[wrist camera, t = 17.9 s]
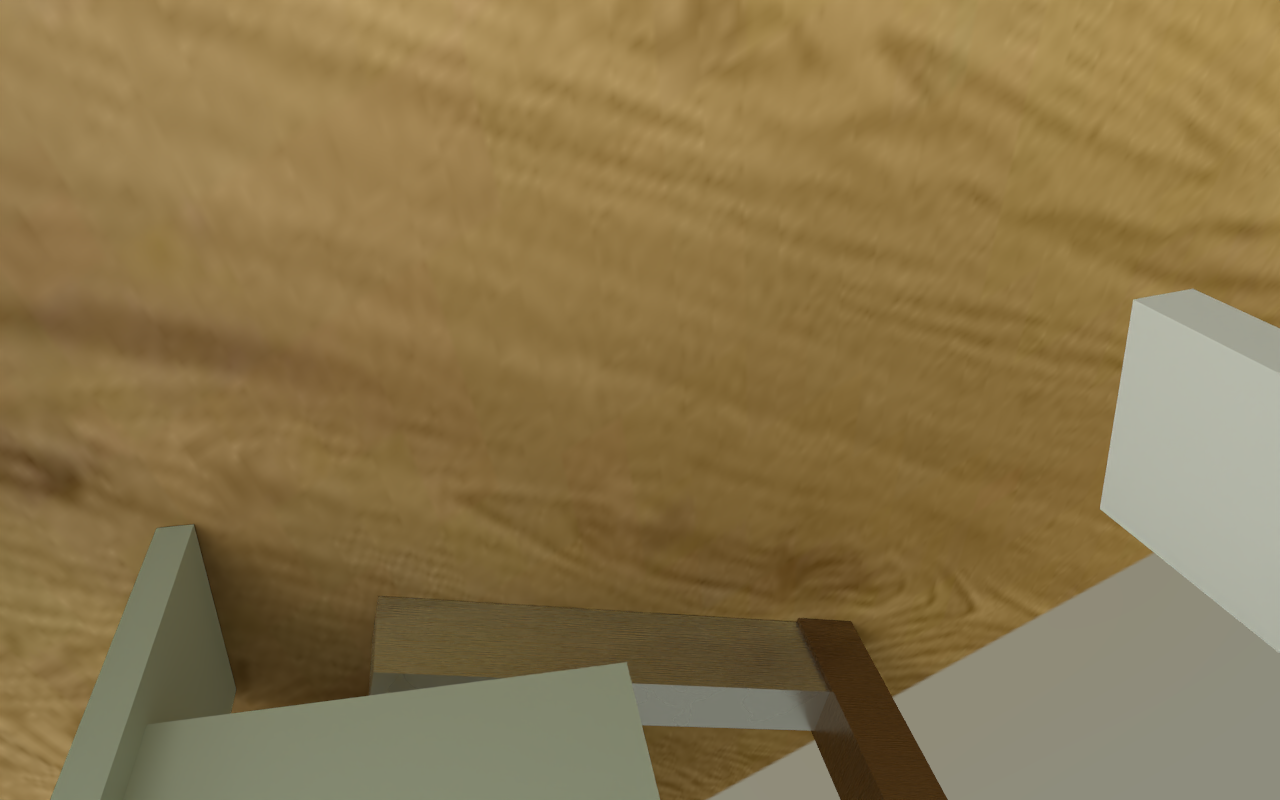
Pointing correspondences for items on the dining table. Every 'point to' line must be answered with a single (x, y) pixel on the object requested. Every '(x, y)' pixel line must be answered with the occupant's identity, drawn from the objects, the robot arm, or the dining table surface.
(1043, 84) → the dining table surface
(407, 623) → the l-shaped try square
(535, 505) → the dining table surface
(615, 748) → the green cabinet
